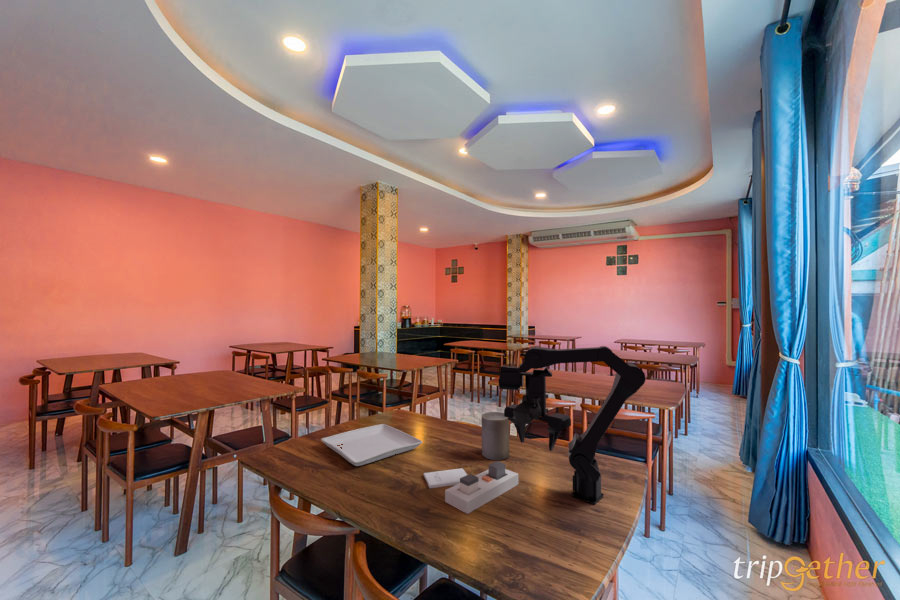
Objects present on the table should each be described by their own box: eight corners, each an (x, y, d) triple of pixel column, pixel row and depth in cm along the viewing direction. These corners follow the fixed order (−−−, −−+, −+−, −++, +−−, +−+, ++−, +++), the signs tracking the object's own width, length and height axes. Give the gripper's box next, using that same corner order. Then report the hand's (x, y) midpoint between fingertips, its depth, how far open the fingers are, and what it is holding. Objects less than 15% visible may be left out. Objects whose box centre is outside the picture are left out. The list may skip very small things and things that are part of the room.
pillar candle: (510, 451, 129) (510, 409, 130) (508, 462, 120) (507, 416, 120) (483, 448, 131) (483, 407, 132) (479, 459, 122) (478, 414, 123)
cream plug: (478, 500, 96) (478, 477, 96) (468, 505, 93) (468, 482, 93) (470, 496, 98) (470, 473, 98) (459, 501, 95) (459, 478, 95)
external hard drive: (470, 484, 105) (429, 490, 102) (462, 472, 113) (423, 477, 110) (470, 479, 105) (429, 484, 102) (462, 467, 113) (423, 472, 110)
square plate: (319, 448, 132) (319, 437, 132) (383, 431, 150) (383, 422, 150) (354, 473, 112) (354, 460, 112) (423, 450, 130) (423, 439, 130)
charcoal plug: (505, 484, 104) (505, 464, 104) (496, 489, 101) (496, 468, 101) (497, 481, 106) (497, 460, 106) (488, 486, 103) (488, 464, 104)
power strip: (518, 484, 104) (518, 471, 105) (467, 514, 89) (467, 499, 89) (496, 475, 110) (496, 463, 110) (444, 501, 95) (445, 487, 95)
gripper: (492, 390, 104) (492, 445, 103) (551, 402, 91) (552, 464, 90) (514, 385, 112) (514, 435, 111) (571, 394, 99) (572, 452, 98)
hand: (536, 446), depth 102 cm, fingers open, 9 cm apart
